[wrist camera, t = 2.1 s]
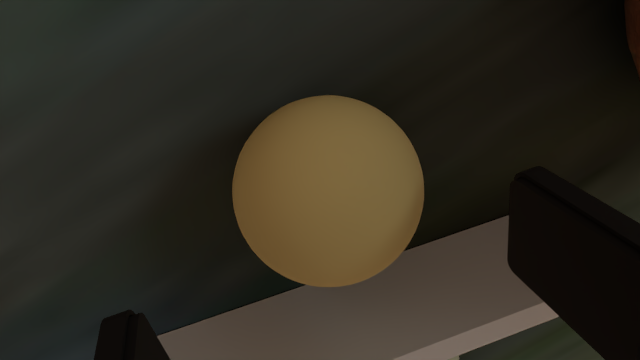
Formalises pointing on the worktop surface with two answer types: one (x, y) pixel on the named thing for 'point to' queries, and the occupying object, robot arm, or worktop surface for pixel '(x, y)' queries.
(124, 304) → the worktop surface
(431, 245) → the wall
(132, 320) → the robot arm
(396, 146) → the ball
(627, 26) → the ceramic jug
